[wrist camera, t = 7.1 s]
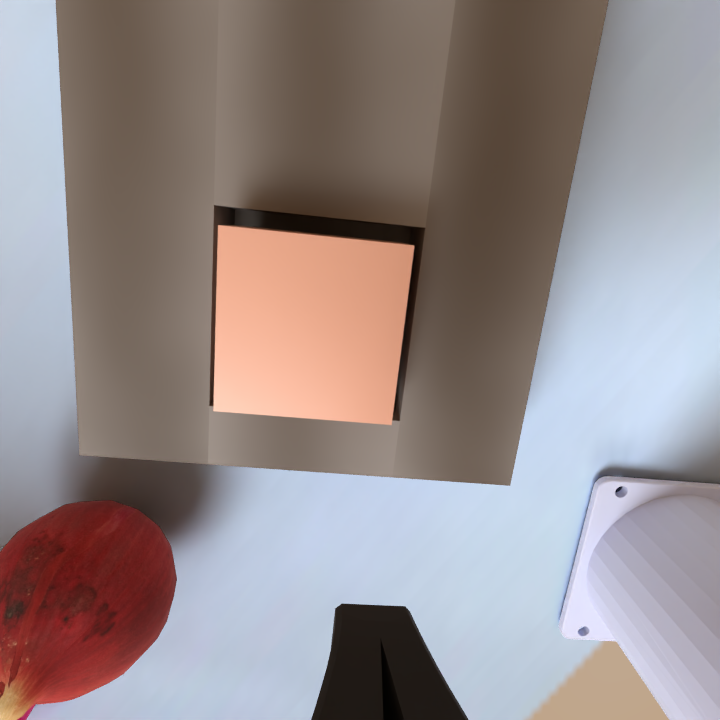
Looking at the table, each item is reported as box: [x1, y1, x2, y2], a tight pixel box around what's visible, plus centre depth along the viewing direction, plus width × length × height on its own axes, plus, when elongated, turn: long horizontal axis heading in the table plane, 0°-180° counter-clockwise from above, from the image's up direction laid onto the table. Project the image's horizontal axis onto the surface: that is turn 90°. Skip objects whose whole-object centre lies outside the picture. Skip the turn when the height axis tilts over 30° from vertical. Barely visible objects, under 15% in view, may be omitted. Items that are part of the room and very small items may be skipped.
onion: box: [0, 500, 177, 720], centre depth 16 cm, size 6×6×8 cm
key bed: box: [56, 0, 609, 486], centre depth 15 cm, size 14×22×4 cm, turn 174°
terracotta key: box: [213, 225, 414, 425], centre depth 14 cm, size 5×5×3 cm
